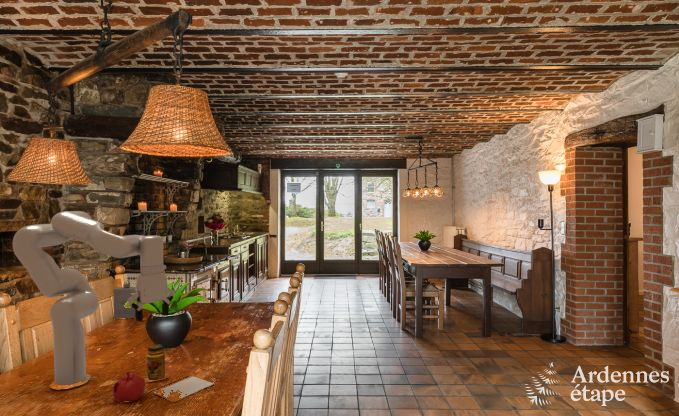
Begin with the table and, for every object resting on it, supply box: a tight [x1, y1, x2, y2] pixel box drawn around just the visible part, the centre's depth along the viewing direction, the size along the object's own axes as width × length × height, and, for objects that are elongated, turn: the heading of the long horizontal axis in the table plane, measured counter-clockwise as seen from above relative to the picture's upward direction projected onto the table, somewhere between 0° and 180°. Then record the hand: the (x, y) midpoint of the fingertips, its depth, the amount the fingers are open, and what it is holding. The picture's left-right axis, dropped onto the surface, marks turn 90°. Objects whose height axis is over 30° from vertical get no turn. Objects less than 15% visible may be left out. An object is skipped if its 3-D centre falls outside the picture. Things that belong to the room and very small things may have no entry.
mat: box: [153, 375, 215, 398], centre depth 145 cm, size 12×16×1 cm
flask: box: [113, 282, 136, 320], centre depth 241 cm, size 15×6×20 cm, turn 93°
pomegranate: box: [112, 370, 147, 403], centre depth 139 cm, size 10×10×9 cm
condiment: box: [146, 343, 166, 380], centre depth 156 cm, size 7×8×12 cm
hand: (152, 317), depth 149 cm, fingers open, 9 cm apart
